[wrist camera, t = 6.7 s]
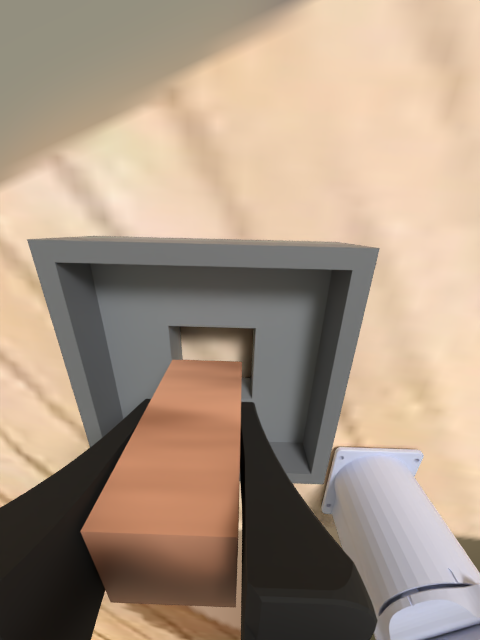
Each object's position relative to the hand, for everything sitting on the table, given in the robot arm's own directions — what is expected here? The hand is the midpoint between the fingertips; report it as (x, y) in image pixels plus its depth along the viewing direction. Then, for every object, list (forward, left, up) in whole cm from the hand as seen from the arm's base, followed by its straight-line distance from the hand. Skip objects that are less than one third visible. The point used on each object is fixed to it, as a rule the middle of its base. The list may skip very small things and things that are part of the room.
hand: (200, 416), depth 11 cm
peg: (0, 0, -3) cm, 3 cm away
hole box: (0, 0, -7) cm, 7 cm away
